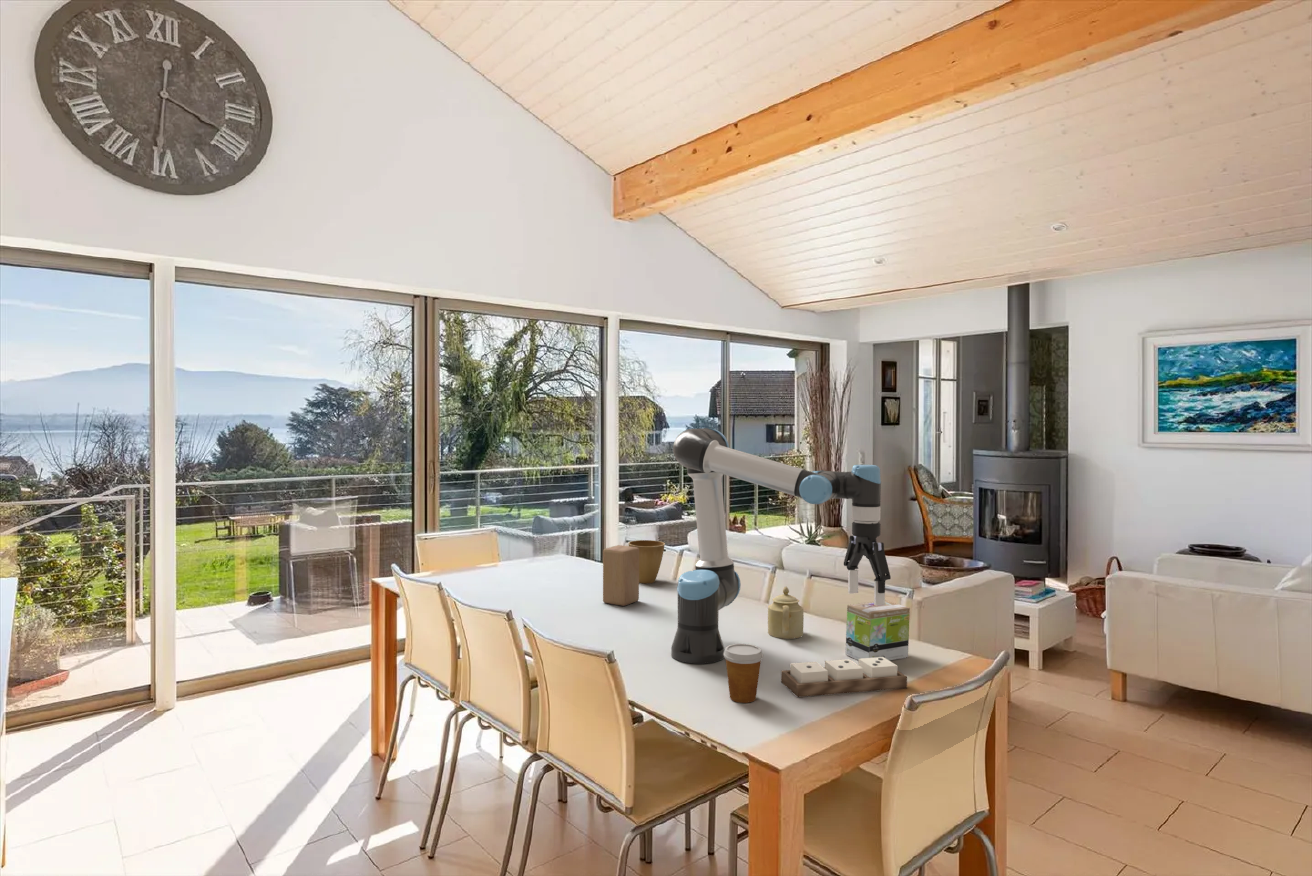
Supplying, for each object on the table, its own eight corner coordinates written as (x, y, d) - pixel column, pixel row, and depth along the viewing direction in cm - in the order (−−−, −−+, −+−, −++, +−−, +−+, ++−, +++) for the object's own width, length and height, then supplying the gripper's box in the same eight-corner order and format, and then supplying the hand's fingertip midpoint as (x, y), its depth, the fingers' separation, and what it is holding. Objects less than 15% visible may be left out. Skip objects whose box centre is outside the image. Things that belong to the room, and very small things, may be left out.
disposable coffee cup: (766, 705, 176) (767, 655, 176) (726, 706, 175) (727, 656, 175) (757, 690, 186) (758, 642, 185) (720, 691, 185) (720, 643, 184)
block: (639, 601, 274) (640, 547, 273) (624, 607, 265) (624, 551, 265) (617, 597, 279) (618, 544, 278) (601, 603, 271) (602, 548, 270)
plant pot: (624, 584, 300) (625, 545, 299) (632, 577, 314) (632, 539, 314) (661, 586, 297) (661, 546, 297) (666, 578, 312) (667, 540, 312)
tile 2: (837, 683, 185) (837, 669, 185) (824, 673, 192) (824, 660, 192) (862, 681, 187) (863, 667, 187) (849, 671, 194) (849, 658, 193)
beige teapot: (816, 641, 227) (816, 592, 226) (783, 644, 223) (783, 594, 223) (793, 627, 241) (793, 581, 240) (761, 630, 238) (762, 583, 237)
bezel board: (797, 697, 181) (797, 685, 181) (781, 682, 191) (781, 670, 191) (906, 688, 188) (907, 676, 187) (885, 674, 198) (885, 663, 198)
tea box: (869, 666, 204) (870, 612, 204) (844, 655, 213) (845, 604, 213) (909, 658, 211) (910, 606, 211) (883, 648, 220) (884, 598, 220)
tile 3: (871, 680, 187) (872, 666, 187) (858, 670, 194) (858, 658, 194) (897, 678, 189) (897, 665, 189) (882, 669, 196) (883, 656, 196)
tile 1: (801, 685, 183) (801, 672, 183) (790, 676, 190) (790, 662, 190) (827, 683, 185) (828, 670, 185) (815, 674, 192) (815, 661, 191)
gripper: (904, 527, 192) (904, 609, 193) (855, 515, 216) (854, 587, 217) (878, 528, 190) (878, 611, 191) (831, 516, 214) (831, 589, 215)
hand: (865, 598), depth 204 cm, fingers open, 13 cm apart
